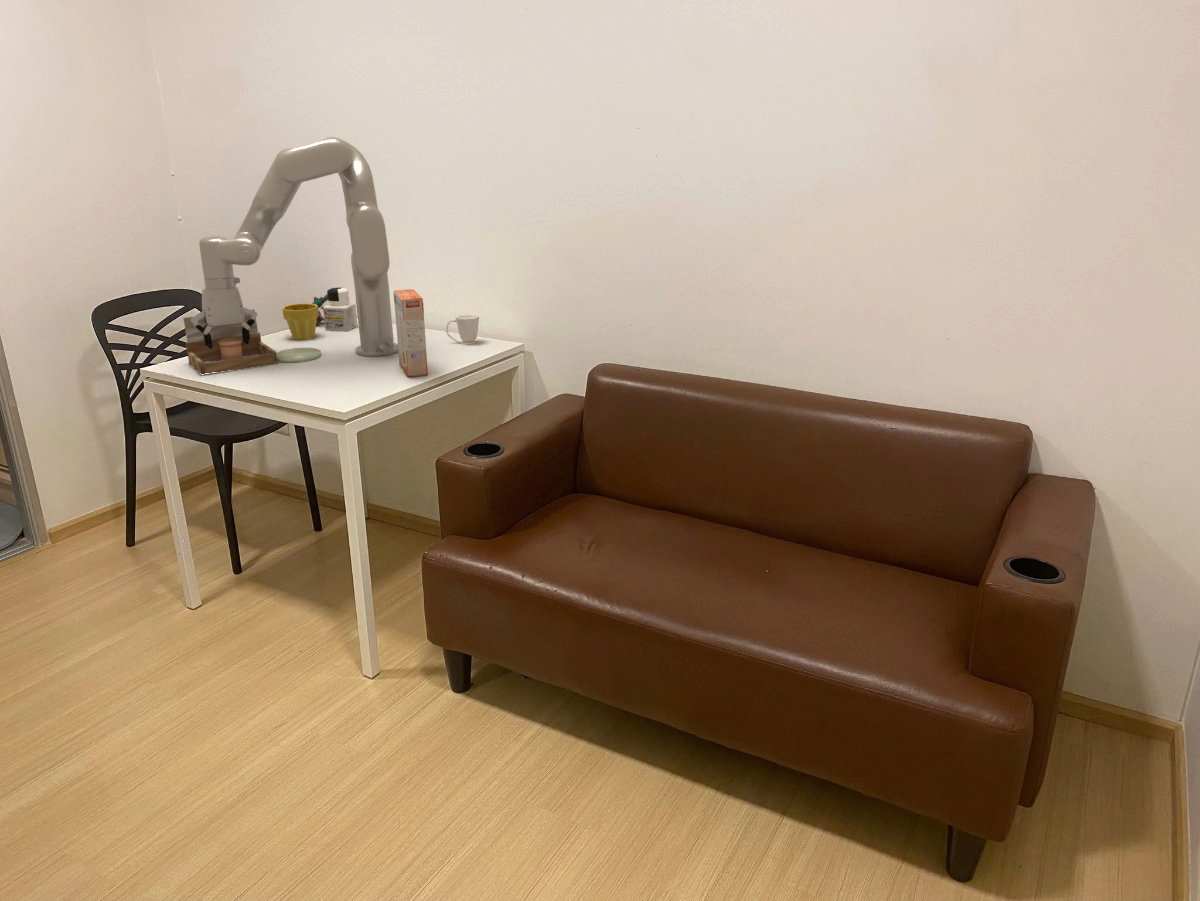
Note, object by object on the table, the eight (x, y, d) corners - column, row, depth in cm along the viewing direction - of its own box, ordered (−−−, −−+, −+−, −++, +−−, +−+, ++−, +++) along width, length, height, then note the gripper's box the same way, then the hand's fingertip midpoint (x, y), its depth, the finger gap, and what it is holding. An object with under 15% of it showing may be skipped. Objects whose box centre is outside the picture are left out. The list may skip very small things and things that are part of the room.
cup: (479, 345, 266) (478, 318, 263) (446, 346, 265) (444, 319, 262) (481, 339, 273) (479, 313, 270) (448, 340, 272) (446, 314, 269)
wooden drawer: (277, 363, 248) (271, 317, 243) (202, 375, 237) (193, 327, 232) (261, 352, 259) (255, 308, 255) (189, 363, 248) (181, 317, 244)
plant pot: (315, 341, 271) (311, 310, 268) (281, 341, 272) (277, 310, 268) (325, 333, 281) (322, 303, 278) (293, 333, 281) (289, 303, 278)
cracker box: (429, 375, 236) (423, 297, 228) (406, 378, 234) (400, 299, 226) (420, 362, 248) (414, 288, 241) (398, 364, 246) (392, 289, 239)
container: (325, 330, 285) (320, 290, 280) (335, 325, 292) (331, 285, 287) (347, 331, 284) (343, 291, 279) (358, 326, 291) (353, 286, 286)
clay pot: (247, 364, 248) (244, 341, 245) (224, 367, 244) (220, 344, 242) (241, 359, 252) (238, 336, 250) (219, 363, 249) (215, 340, 247)
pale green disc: (327, 357, 253) (327, 354, 253) (282, 365, 246) (281, 361, 246) (312, 348, 263) (312, 345, 263) (268, 355, 256) (267, 352, 256)
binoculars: (324, 327, 298) (304, 303, 295) (346, 312, 297) (326, 287, 294) (318, 334, 290) (298, 309, 286) (341, 318, 289) (321, 293, 285)
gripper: (248, 278, 248) (256, 338, 254) (182, 284, 238) (191, 346, 244) (256, 282, 242) (263, 344, 248) (188, 288, 232) (198, 352, 239)
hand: (228, 345), depth 246 cm, fingers open, 9 cm apart
